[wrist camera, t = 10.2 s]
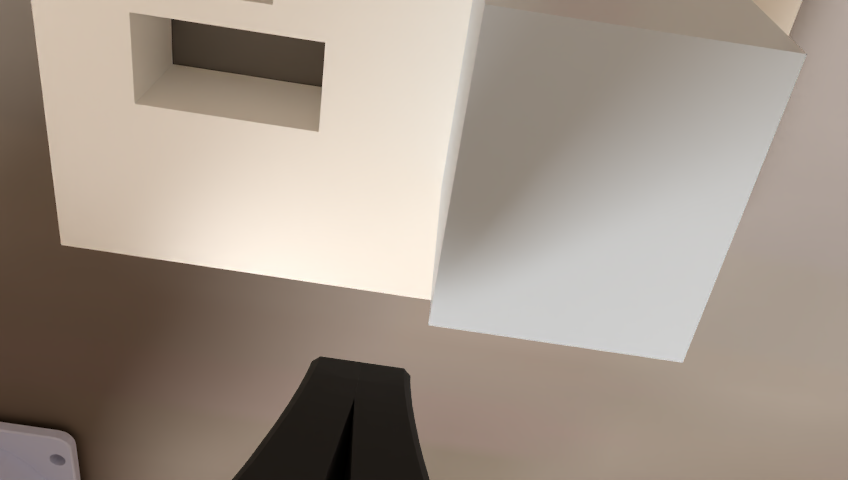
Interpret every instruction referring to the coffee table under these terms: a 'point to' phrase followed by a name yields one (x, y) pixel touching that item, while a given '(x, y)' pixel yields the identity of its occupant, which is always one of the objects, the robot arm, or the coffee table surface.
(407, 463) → the robot arm
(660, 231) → the plug
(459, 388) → the coffee table surface
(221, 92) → the socket board
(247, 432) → the coffee table surface
